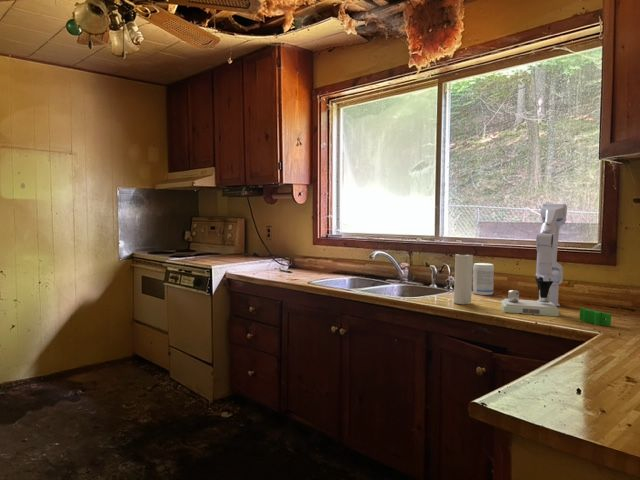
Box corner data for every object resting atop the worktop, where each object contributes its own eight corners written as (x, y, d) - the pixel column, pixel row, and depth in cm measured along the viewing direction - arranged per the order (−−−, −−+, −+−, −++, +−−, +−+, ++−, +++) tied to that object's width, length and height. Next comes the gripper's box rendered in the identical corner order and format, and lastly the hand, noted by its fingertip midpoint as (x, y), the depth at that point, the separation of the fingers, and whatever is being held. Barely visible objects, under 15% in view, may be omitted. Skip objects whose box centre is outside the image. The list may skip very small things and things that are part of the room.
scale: (501, 305, 201) (501, 297, 201) (552, 309, 195) (553, 301, 195) (503, 312, 187) (503, 304, 187) (559, 316, 181) (559, 308, 181)
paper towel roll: (453, 304, 202) (455, 254, 201) (454, 301, 208) (455, 253, 207) (470, 305, 200) (472, 255, 199) (471, 302, 206) (473, 254, 204)
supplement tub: (497, 294, 228) (498, 264, 227) (483, 296, 223) (484, 265, 222) (482, 291, 236) (483, 262, 235) (468, 292, 232) (469, 263, 231)
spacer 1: (507, 300, 195) (508, 289, 195) (518, 301, 194) (518, 290, 194) (508, 302, 192) (508, 291, 191) (518, 303, 190) (519, 292, 190)
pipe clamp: (574, 320, 176) (575, 308, 176) (581, 320, 177) (582, 307, 177) (604, 327, 166) (604, 314, 165) (610, 326, 167) (611, 313, 167)
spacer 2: (537, 300, 192) (538, 289, 191) (548, 301, 191) (548, 290, 191) (539, 302, 188) (540, 291, 188) (550, 302, 187) (551, 291, 187)
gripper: (558, 265, 180) (556, 300, 181) (552, 261, 194) (550, 294, 195) (538, 264, 183) (537, 299, 183) (533, 261, 196) (532, 293, 197)
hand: (542, 296), depth 189 cm, fingers closed on spacer 2, 4 cm apart
